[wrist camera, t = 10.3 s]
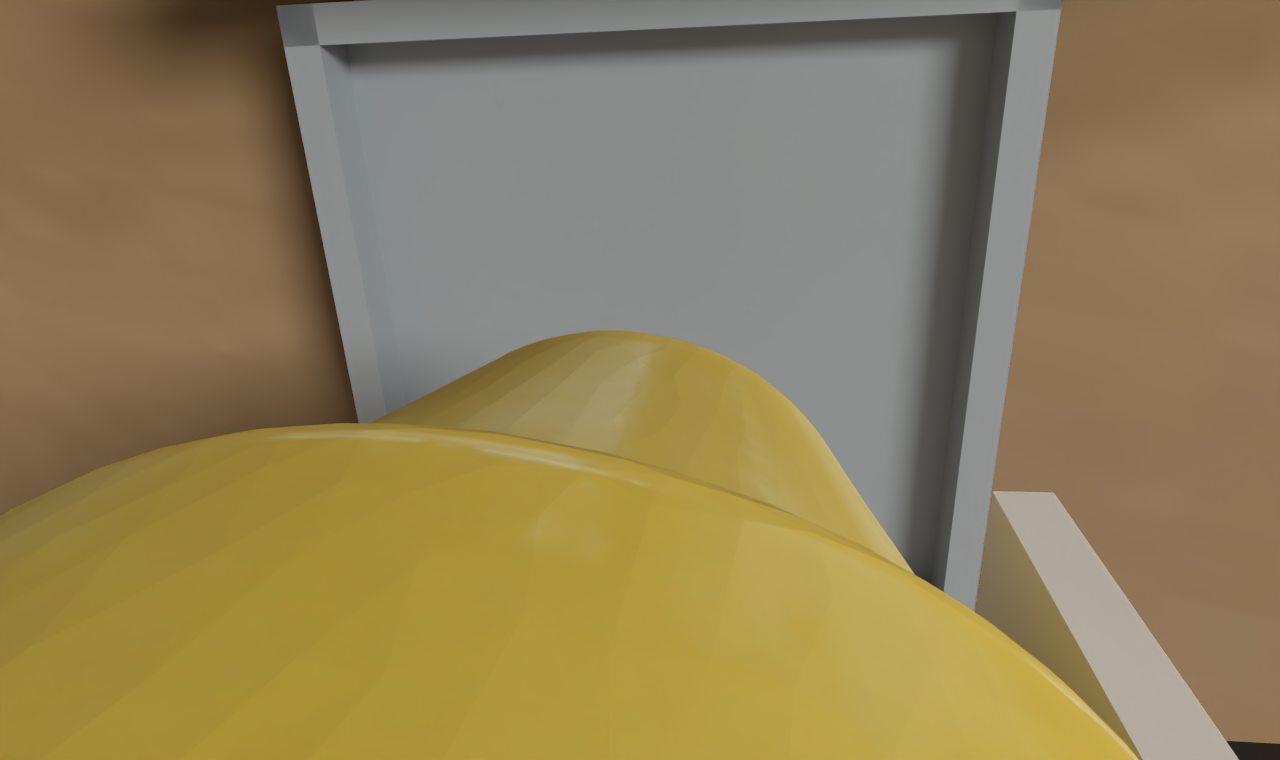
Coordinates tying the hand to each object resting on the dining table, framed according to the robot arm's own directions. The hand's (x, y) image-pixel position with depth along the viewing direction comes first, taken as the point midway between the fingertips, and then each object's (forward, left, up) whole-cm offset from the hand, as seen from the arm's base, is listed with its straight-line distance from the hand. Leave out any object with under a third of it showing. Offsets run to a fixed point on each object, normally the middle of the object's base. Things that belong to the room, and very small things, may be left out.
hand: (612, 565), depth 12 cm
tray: (0, 0, -10) cm, 10 cm away
